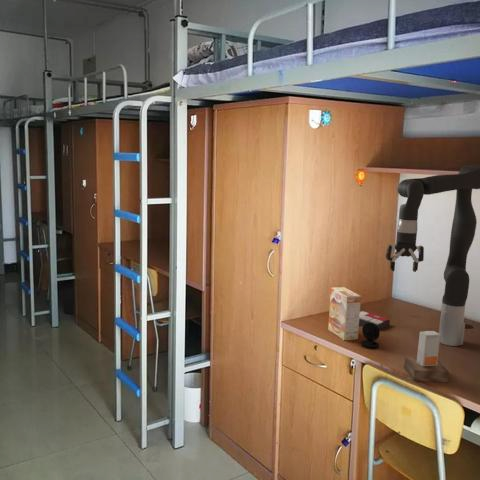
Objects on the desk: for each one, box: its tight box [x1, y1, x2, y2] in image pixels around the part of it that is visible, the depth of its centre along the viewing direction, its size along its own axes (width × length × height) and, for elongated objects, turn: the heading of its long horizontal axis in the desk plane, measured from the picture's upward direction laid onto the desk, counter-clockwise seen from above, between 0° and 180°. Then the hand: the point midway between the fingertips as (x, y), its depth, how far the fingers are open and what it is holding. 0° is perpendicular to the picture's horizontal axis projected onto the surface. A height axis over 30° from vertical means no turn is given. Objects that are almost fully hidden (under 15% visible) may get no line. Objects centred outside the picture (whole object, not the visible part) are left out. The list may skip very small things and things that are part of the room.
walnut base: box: [403, 357, 449, 383], centre depth 199 cm, size 12×12×4 cm
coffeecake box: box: [328, 286, 362, 341], centre depth 239 cm, size 15×7×20 cm, turn 18°
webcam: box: [360, 322, 380, 350], centre depth 226 cm, size 8×8×10 cm
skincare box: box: [416, 330, 441, 366], centre depth 198 cm, size 6×4×12 cm
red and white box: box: [359, 311, 391, 331], centre depth 256 cm, size 11×4×15 cm
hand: (403, 271), depth 218 cm, fingers open, 8 cm apart
